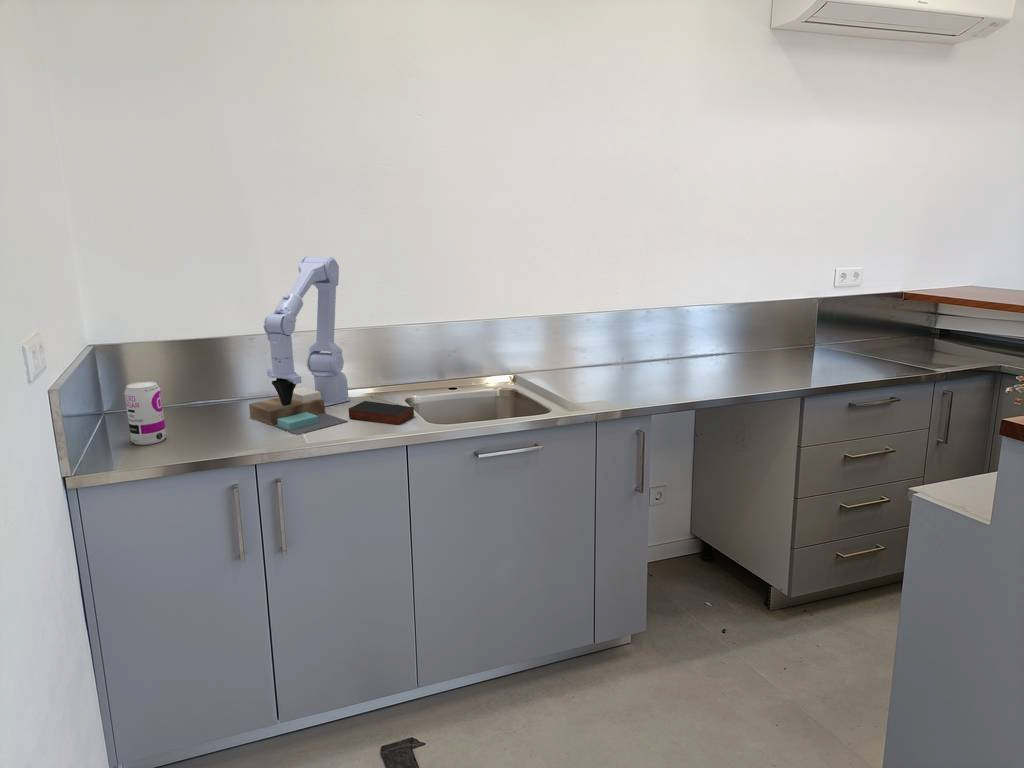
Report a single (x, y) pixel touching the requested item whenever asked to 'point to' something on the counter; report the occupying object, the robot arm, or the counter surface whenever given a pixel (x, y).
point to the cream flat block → (305, 394)
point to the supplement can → (145, 413)
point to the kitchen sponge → (381, 412)
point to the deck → (283, 409)
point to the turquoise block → (297, 421)
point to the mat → (323, 420)
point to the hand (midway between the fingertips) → (286, 404)
